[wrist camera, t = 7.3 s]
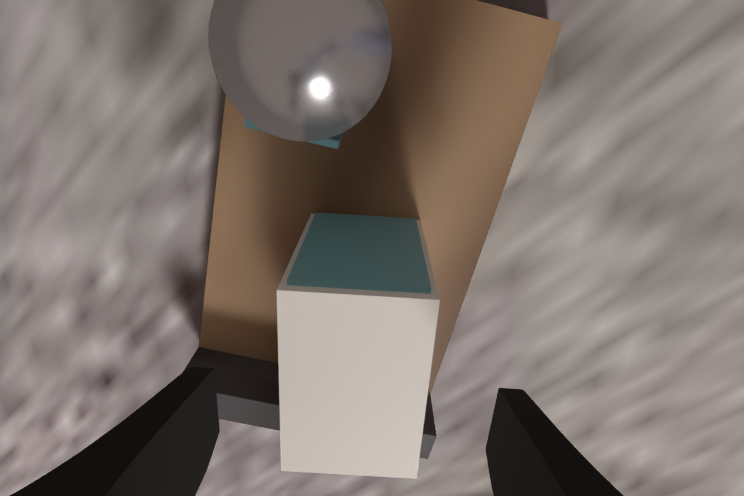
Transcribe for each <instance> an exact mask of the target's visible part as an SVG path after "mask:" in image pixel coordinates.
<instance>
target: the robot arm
mask: <svg viewBox="0 0 744 496" xmlns="http://www.w3.org/2000/svg"><path fill="white" fill-rule="evenodd" d="M219 431H220V430H219V418H218V406H217V394H216V382H215V370H214V368H202V367H189V368H188V369H187V370H186V371H184V372H183V373H182V374H181V375H179V376H178V377H177V378H176V379H174V380H173V381H172V382H171V383H169V384H168V385H167V386H166V387H165V388H163V389H162V390H161V391H160V392H158V393H157V394H156V395H155V396H154V397H152V398H151V399H150V400H149V401H147V402H146V403H145V404H144V405H142V406H141V407H140V408H139V409H137V410H136V411H135V412H134V413H132V414H131V415H130V416H128V417H127V418H126V419H125V420H123V421H122V422H121V423H119V424H118V425H117V426H115V427H114V428H113V429H111V430H110V431H109V432H107V433H106V434H104V435H103V436H102V437H100V438H99V439H98V440H96V441H95V442H93V443H92V444H91V445H89V446H88V447H87V448H85V449H84V450H82V451H81V452H79V453H78V454H76V455H75V456H74V457H72V458H71V459H69V460H68V461H66V462H64V463H63V464H61V465H60V466H58V467H57V468H55V469H54V470H52V471H50V472H49V473H47V474H46V475H44V476H42V477H41V478H39V479H38V480H36V481H34V482H33V483H31V484H29V485H28V486H26V487H24V488H23V489H21V490H19V491H17V492H16V493H14V494H12V495H10V496H195V495H196V493H197V490H198V488H199V486H200V484H201V482H202V479H203V477H204V475H205V473H206V471H207V468H208V465H209V462H210V459H211V456H212V453H213V450H214V447H215V444H216V440H217V437H218V434H219ZM486 454H487V461H488V467H489V474H490V479H491V485H492V490H493V494H494V496H623V495H622V494H621V493H620V492H619V491H618V490H617V489H616V488H615V487H614V486H613V485H612V484H611V483H610V482H609V481H608V480H607V479H605V478H604V477H603V476H602V475H601V474H600V473H599V472H598V471H597V470H596V469H595V468H594V467H593V466H592V465H591V464H590V463H589V462H588V461H587V460H586V459H585V458H584V457H583V455H582V454H581V453H580V452H579V451H578V450H577V449H576V448H575V447H574V446H573V445H572V444H571V443H570V442H569V441H568V440H567V438H566V437H565V436H564V435H563V434H562V433H561V432H560V431H559V430H558V429H557V427H556V426H555V425H554V424H553V423H552V422H551V421H550V420H549V418H548V417H547V416H546V415H545V414H544V413H543V412H542V410H541V409H540V408H539V407H538V406H537V405H536V404H535V402H534V401H533V400H532V399H531V398H530V397H529V396H528V395H527V393H526V392H525V391H524V390H521V389H507V388H499V390H498V394H497V399H496V404H495V408H494V413H493V417H492V422H491V427H490V431H489V436H488V441H487V445H486Z"/></svg>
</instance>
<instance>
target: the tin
mask: <svg viewBox="0 0 744 496" xmlns="http://www.w3.org/2000/svg"><path fill="white" fill-rule="evenodd" d="M209 49H210V55H211V60H212V65H213V68H214V71H215V74H216V77H217V79H218V81H219V83H220V85H221V87H222V89H223V91H224V92H225V94H226V96H227V97H228V99H229V100H230V102H231V103H232V104H233V105H234V107H235V108H236V109H237V110H238V111H239V112H240V113H241V114H242V115H243V116H244V117H245V122H244V127H248V128H252V129H256V130H260V131H264V132H267V133H270V134H272V135H274V136H277V137H280V138H283V139H287V140H293V141H306V142H310V143H314V144H318V145H322V146H326V147H331V148H335V149H338V148H339V145H340V143H341V141H342V139H343V137H344V135H345V133H346V130H348V129H350V128H351V127H353V126H354V125H355V124H357V123H358V122H359V121H360V120H361V119H362V118H363V117H364V116H365V115H367V113H368V112H369V111H370V110H371V108H372V107H373V106H374V104H375V103H376V101H377V100H378V98H379V96H380V94H381V92H382V90H383V88H384V85H385V83H386V80H387V76H388V73H389V68H390V62H391V50H392V43H391V32H390V26H389V21H388V17H387V14H386V11H385V8H384V6H383V3H382V1H381V0H214V4H213V7H212V11H211V16H210V22H209Z"/></svg>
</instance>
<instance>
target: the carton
mask: <svg viewBox="0 0 744 496" xmlns="http://www.w3.org/2000/svg"><path fill="white" fill-rule="evenodd" d="M439 304H440V298H439V294H438V290H437V286H436V282H435V278H434V273H433V269H432V265H431V261H430V257H429V253H428V249H427V245H426V241H425V237H424V233H423V229H422V224H421V220H416V218H399V217H383V216H366V215H350V214H333V213H317V212H316V213H315V214H312V213H311V215H310V218H309V220H308V222H307V224H306V226H305V229H304V231H303V233H302V235H301V237H300V240H299V242H298V244H297V246H296V248H295V251H294V253H293V255H292V257H291V259H290V262H289V264H288V266H287V268H286V270H285V273H284V275H283V277H282V279H281V282H280V284H279V286H278V288H277V326H278V366H279V405H280V445H281V471H293V472H310V473H327V474H345V475H362V476H379V477H396V478H414V479H417V472H418V465H419V457H420V449H421V442H422V434H423V426H424V419H425V411H426V403H427V396H428V388H429V380H430V373H431V365H432V357H433V350H434V342H435V334H436V327H437V319H438V311H439Z"/></svg>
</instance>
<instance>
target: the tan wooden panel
mask: <svg viewBox="0 0 744 496" xmlns="http://www.w3.org/2000/svg"><path fill="white" fill-rule="evenodd" d="M381 1H382V3H383V6H384V8H385V11H386V14H387V17H388V21H389V26H390V32H391V43H392V50H391V62H390V68H389V73H388V76H387V80H386V83H385V85H384V88H383V90H382V92H381V94H380V96H379V98H378V100H377V101H376V103H375V104H374V106H373V107H372V108H371V110H370V111H369V112H368V113H367V115H365V116H364V117H363V118H362V119H361V120H360V121H359V122H358V123H357V124H355V125H354V126H353V127H351V128H350V129H348V130H346V133H345V135H344V137H343V139H342V141H341V143H340V145H339V148H338V149H335V148H331V147H326V146H322V145H318V144H314V143H310V142H306V141H293V140H287V139H283V138H280V137H277V136H274V135H272V134H270V133H267V132H264V131H260V130H256V129H252V128H248V127H244V122H245V117H244V116H243V115H242V114H241V113H240V112H239V111H238V110H237V109H236V108H235V107H234V105H233V104H232V103H231V102H230V100H229V99H228V97H227V96H225V106H224V115H223V124H222V134H221V143H220V153H219V162H218V171H217V181H216V190H215V200H214V209H213V218H212V228H211V237H210V247H209V256H208V265H207V275H206V284H205V294H204V303H203V313H202V322H201V331H200V341H199V347H198V349H197V351H196V352H195V354H194V355H193V357H192V358H191V360H190V362H189V363H188V365H187V366H186V368H185V370H184V371H186V370H187V369H188V368H189V367H202V368H214V370H215V382H216V394H217V406H218V418H219V419H223V420H228V421H233V422H238V423H244V424H249V425H254V426H259V427H264V428H269V429H275V430H280V405H279V366H278V326H277V288H278V286H279V284H280V282H281V279H282V277H283V275H284V273H285V270H286V268H287V266H288V264H289V262H290V259H291V257H292V255H293V253H294V251H295V248H296V246H297V244H298V242H299V240H300V237H301V235H302V233H303V231H304V229H305V226H306V224H307V222H308V220H309V218H310V215H311V213H312V214H315V213H316V212H317V213H333V214H350V215H366V216H383V217H399V218H416V220H421V224H422V229H423V233H424V237H425V241H426V245H427V249H428V253H429V257H430V261H431V265H432V269H433V273H434V278H435V282H436V286H437V290H438V294H439V298H440V304H439V311H438V319H437V327H436V334H435V342H434V350H433V357H432V365H431V373H430V380H429V388H428V396H427V403H426V411H425V419H424V426H423V434H422V442H421V449H420V458H425V459H428V457H429V454H430V452H431V449H432V447H433V444H434V441H435V439H436V431H435V424H434V417H433V410H432V403H431V397H430V393H431V390H432V387H433V385H434V382H435V379H436V376H437V373H438V371H439V368H440V365H441V362H442V359H443V357H444V354H445V351H446V348H447V345H448V343H449V340H450V337H451V334H452V331H453V329H454V326H455V323H456V320H457V317H458V315H459V312H460V309H461V306H462V303H463V301H464V298H465V295H466V292H467V289H468V287H469V284H470V281H471V278H472V275H473V273H474V270H475V267H476V264H477V261H478V259H479V256H480V253H481V250H482V247H483V245H484V242H485V239H486V236H487V233H488V230H489V228H490V225H491V222H492V219H493V216H494V214H495V211H496V208H497V205H498V202H499V200H500V197H501V194H502V191H503V188H504V186H505V183H506V180H507V177H508V174H509V172H510V169H511V166H512V163H513V160H514V158H515V155H516V152H517V149H518V146H519V144H520V141H521V138H522V135H523V132H524V130H525V127H526V124H527V121H528V118H529V116H530V113H531V110H532V107H533V104H534V102H535V99H536V96H537V93H538V90H539V88H540V85H541V82H542V79H543V76H544V74H545V71H546V68H547V65H548V62H549V60H550V57H551V54H552V51H553V48H554V46H555V43H556V40H557V37H558V34H559V32H560V29H561V26H562V23H559V22H556V21H552V20H548V19H545V18H541V17H537V16H533V15H530V14H526V13H522V12H519V11H515V10H511V9H507V8H504V7H500V6H496V5H493V4H489V3H485V2H481V1H478V0H381ZM184 371H183V372H184Z"/></svg>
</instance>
